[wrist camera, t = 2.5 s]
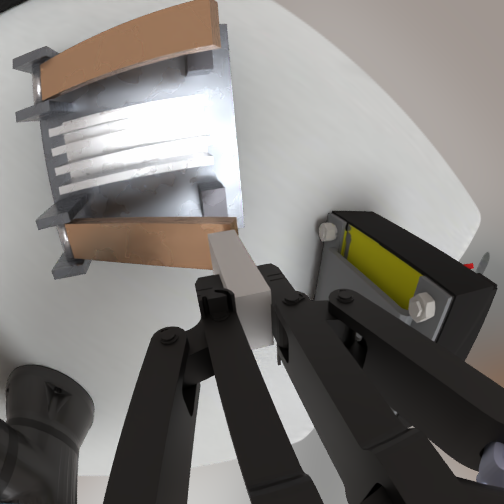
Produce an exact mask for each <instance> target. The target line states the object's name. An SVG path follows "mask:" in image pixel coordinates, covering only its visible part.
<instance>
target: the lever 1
mask: <svg viewBox="0 0 504 504" xmlns="http://www.w3.org/2000/svg"><path fill="white" fill-rule="evenodd" d="M219 48H221V41H220V29H219V16H218V4H217V2H216V1H214V0H194V1H190V2H186V3H183V4H179V5H176V6H172V7H169V8H166V9H163V10H159V11H156V12H153V13H150V14H147V15H145V16H142V17H139V18H136V19H134V20H131V21H128V22H126V23H123V24H121V25H118V26H116V27H114V28H111V29H109V30H107V31H104V32H102V33H100V34H98V35H95V36H93V37H91V38H89V39H87V40H85V41H83V42H81V43H79V44H77V45H75V46H73V47H71V48H69V49H67V50H65V51H64V52H62V53H60V54H58V55H56V56H54V57H53V58H51V59H49V60H48V61H46V62H44V63H42V64H41V65H40V71H41V89H42V101H43V100H50V99H55V98H57V97H59V96H61V95H64V94H66V93H68V92H71V91H73V90H75V89H78V88H80V87H83V86H85V85H88V84H90V83H93V82H96V81H98V80H101V79H104V78H107V77H110V76H113V75H115V74H118V73H121V72H125V71H128V70H131V69H134V68H137V67H141V66H144V65H148V64H151V63H155V62H159V61H163V60H166V59H170V58H175V57H179V56H183V55H188V54H192V53H197V52H202V51H207V50H213V49H219Z"/></svg>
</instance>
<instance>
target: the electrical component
mask: <svg viewBox="0 0 504 504" xmlns="http://www.w3.org/2000/svg"><path fill="white" fill-rule="evenodd" d="M319 238H320V239H321V241H324V247H323V253H322V259H321V265H320V271H319V276H318V282H317V288H316V293H315V298H314V301H322V300H328V297H329V295H330V293H331V292H333V291H334V290H338V289H350V290H353V291H356V292H358V293H359V294H361V295H362V296H364V297H365V298H367V299H369V300H370V301H372V302H373V303H375V304H376V305H378V306H380V307H381V308H383V309H384V310H386V311H387V312H389V313H391V314H392V315H394V316H395V317H397V318H398V319H400V320H402V321H403V322H405V323H406V324H408V325H409V326H411V327H412V328H414V329H415V330H417V331H419V332H420V333H422V334H423V335H425V336H426V337H428V338H429V339H431V340H432V341H434V342H435V343H437V344H438V345H440V346H442V347H443V348H445V349H446V350H448V351H449V352H451V353H452V354H454V355H455V356H457V357H458V358H460V359H461V360H463V361H465V359H466V358H467V355H468V354H469V351H470V350H471V348H472V345H473V343H474V342H475V340H476V338H477V336H478V333H479V331H480V329H481V327H482V325H483V322H484V320H485V317H486V316H487V313H488V311H489V308H490V306H491V303H492V301H493V298H494V296H495V294H496V291H497V284H495V283H494V282H492V281H491V280H489V279H488V278H486V277H485V276H483V275H482V274H480V273H475V272H474V271H472V270H471V269H472V268H474V267H473V263H471V264H464V265H463V264H461V263H460V262H458V261H457V260H455V259H453V258H452V257H450V256H449V255H447V254H445V253H444V252H442V251H440V250H439V249H437V248H436V247H434V246H432V245H431V244H429V243H427V242H426V241H424V240H422V239H420V238H419V237H417V236H415V235H414V234H412V233H410V232H408V231H407V230H405V229H403V228H401V227H400V226H398V225H396V224H394V223H392V222H391V221H389V220H387V219H385V218H383V217H381V216H380V215H378V214H376V213H374V212H366V211H332V213H328V220H327V223H322V224H321V225H320V227H319ZM356 336H357V337H358V338H360V339H362V336H360V335H359V334H358V333H356ZM390 408H391V407H390ZM391 409H392V408H391ZM392 411H393V412H394V413H395V415H396V416H397V417H398V419H399V420H400V422H401V423H402V424H403V425H404V426H405V427H406V428H409V427H411V426H412V425H411V424H410V423H409V422H408V421H406V420H405V419H404V418H403V417H402V416H400V415H399V414H398V413H397V412H396V411H394V410H393V409H392Z"/></svg>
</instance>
